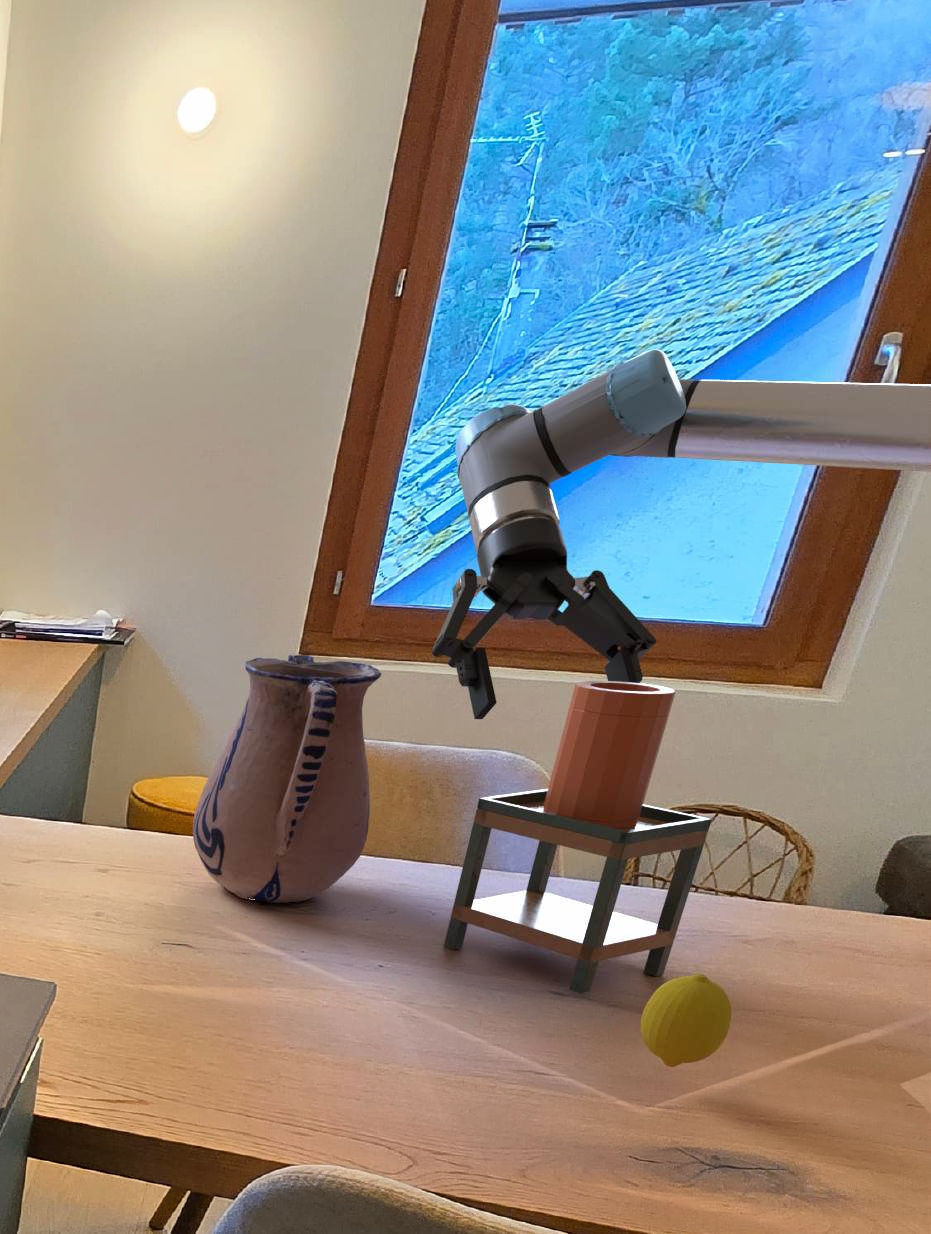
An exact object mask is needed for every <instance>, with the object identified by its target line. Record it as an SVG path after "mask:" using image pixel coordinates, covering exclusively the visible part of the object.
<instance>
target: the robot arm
mask: <svg viewBox="0 0 931 1234" xmlns="http://www.w3.org/2000/svg"><path fill="white" fill-rule="evenodd" d="M454 447H455V457H456V465H457V468H456V471H457V472H456V474H457V475H456V476H457V479H458V480H459V483H460V487H461V490H462V494H463V498H464V503H465V506H466V511H467V516H468V519H469V525H470V530H471V533H472V538H473V543H474V547H475V551H476V560H477V564H478V569H479V573H480V575H477V572H476V570H474V569H473V568H466V569H464V571H463V572H462V574H461V575H460V577H459V578H458V580H457V581H456V582H455V583H454V585H453V586H452V605H451V607H450V608H449V611H448V613H447V616H446V618H445V620H444V622H443V624H442V627H441V629H440V631H439V634H438V636H437V638H436V640H435V643H434V645H433V647H432V648H431V649H432V650H431V654H432V656H433V657H434V658H439V659H440V658H443V657H448V660H447V665H448V666H449V667H450V668H454V669H456V674H457V678H458V683H459V685H461V687H465V688H466V687H467V690H468V693H469V699H470V703H471V709H472V714H473V718H474V720H484V718H485V717H486V716H487V714H489V713H490V712H491V710H492V709H493V708H494V707H495V706H496V704H497V698H496V693H495V689H494V688H495V687H494V683H493V678H492V674H491V669H490V665H489V660H488V656H487V650H486V647H477V646H478V645H479V644H480V643H481V641H482V640H483V639H484V638H485V637H486V636H487V635H488V634H489V632H490V631H491V630H492V629H493V628H494V627H495V626H496V624H498V622H499V621H500V620H501V619H502V618H503V616H504V615H507V616H509V617H511V618H512V619H513V620H520V621H521V620H525V619H533V620H535V621H537V620H538V621H539V620H540V621H546V619H547V620H549V622H551V623H552V624H554V625H555V626H557V627H561V626H563V627H565V628H566V629H567V630H569V632H571V633H573V634H574V635H575V636H576V637H578V638H579V639H580V640H582V641H583V642H584V643H585V644H587V645H588V646H590V647H591V648H592V649H593V650H595V651H596V652H597V653H598V654H600V655H601V656H602V657H604V658H605V659H607V660H608V662H607V664H606V665H605V666H604V671H605V674H606V678H607V681H617V682H630V683H641V682H642V681H643V678H644V674H643V672H642V668H641V664H640V660H641V659H642V658H643V657H644V656H645V655H646V654H647V653H648V652H649V651H650V650H651V649H652V648H653V647H654V646H655V645H656V644H657V638H656V637H655V636H654V635H653V634H652V633H651V631H650V630H648V629H647V627H646V626H644V624H643V623H642V622H641V621H640V620H639V618H637V616H636V615H634V613H633V612H632V611H631V610H630V608H628V606H626V604H625V603H624V602H623V601H622V600H621V599H620V597H618V595H617V594H616V593H615V592H614V591H613V590H612V589H611V588H610V586H609V583H608V581H607V578H606V576H605V574H604V572H602V571H601V570H599V569H597V570H596V569H595V570H593V571H591V573H589V575H588V576H581V577H575V576H573V575H572V574H571V572H570V571H569V570H568V551H567V546H566V542H565V539H564V534H563V530H562V528H561V526H560V524H561V523H560V516H559V514H558V510H557V505H556V502H555V499H554V495H553V491H552V487H551V483H554V482H556V481H558V480H560V479H561V478H564V477H566V476H568V475H571V474H573V473H574V472H576V471H578V470H580V469H582V468H585V467H586V466H588V465H591V464H593V463H596V462H597V461H600V460H601V459H603V458H606V457H608V456H613V457H622V458H623V457H625V458H631V457H645V458H663V459H664V458H665V459H670V458H675V459H691V460H692V459H693V460H709V461H710V460H711V461H727V462H728V461H730V462H746V463H747V462H748V463H763V464H764V463H765V464H766V463H767V464H783V465H802V466H803V465H804V466H820V467H836V468H837V467H838V468H855V469H856V468H858V469H871V470H872V469H874V470H875V469H876V470H877V469H878V470H894V471H909V472H930V473H931V384H919V383H918V384H914V383H913V384H910V383H871V382H870V383H865V382H864V383H863V382H823V381H822V382H820V381H819V382H818V381H816V382H815V381H775V380H774V381H769V380H729V379H727V380H724V379H723V380H722V379H721V380H720V379H688V378H687V379H686V378H683V379H682V378H678V375H677V373H676V370H675V368H674V366H673V365H672V362H671V360H670V359H669V358H668V356H667V355H666V353H665V352H664V351H663V350H661V349H657V348H656V349H650V350H647V351H645V352H643V353H641V354H638V355H637V356H635V357H633V358H630V359H629V360H626V361H621V362H620V363H617V364H615V365H614V366H613V367H612V368H610V369H609V370H607V371H606V372H604V373H602V374H600V375H598V376H596V377H594V378H593V379H591V380H589V381H587V382H586V383H584V384H582V385H580V386H578V387H576V388H574V389H573V390H571V391H569V392H568V393H566V394H564V395H562V396H560V397H558V398H556V399H555V400H553V401H551V402H549V403H548V404H545V405H544V406H540V407H539V408H537V409H534V410H532V411H530V409H528V408H527V407H525V406H522V405H519V404H515V403H513V404H512V403H510V404H509V403H508V404H504V405H502V406H500V407H497V408H493V407H490V408H487V409H486V410H483V411H481V412H480V413H478V414H477V415H475V416H474V417H472V418H471V419H470V420H469V421H468V422H467V423H466V424H465V425H464V426H463V427H462V428H461V430H460V432H459V433H458V436H457V437H456V440H455V446H454ZM480 592H482V594H483V596H485V597H486V598H487V599H488V600H489V601H490V602H492V603H493V604H494V605H493V606H492V607H491V608H490V610H488V611H487V613H486V614H485V615H484V616H483V617H482V618H481V619H480V621H479V622H478V623H476V625H475V626H474V627H473V628H472V630H471V631H470V632H469V633H468V634H467V635H466V637H464V639H460V638H458V635H459V633H460V630H461V628H462V626H463V624H464V621H465V620H466V616H467V615H468V612H469V610H470V608H471V606H472V603H473V600H474V599H475V598H476V597H477V596H478V595H479V593H480ZM565 602H566V603H567V606H566V607H565V608H564V610H563V611H561V610H560V607H562V605H563V604H564V603H565Z"/></svg>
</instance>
